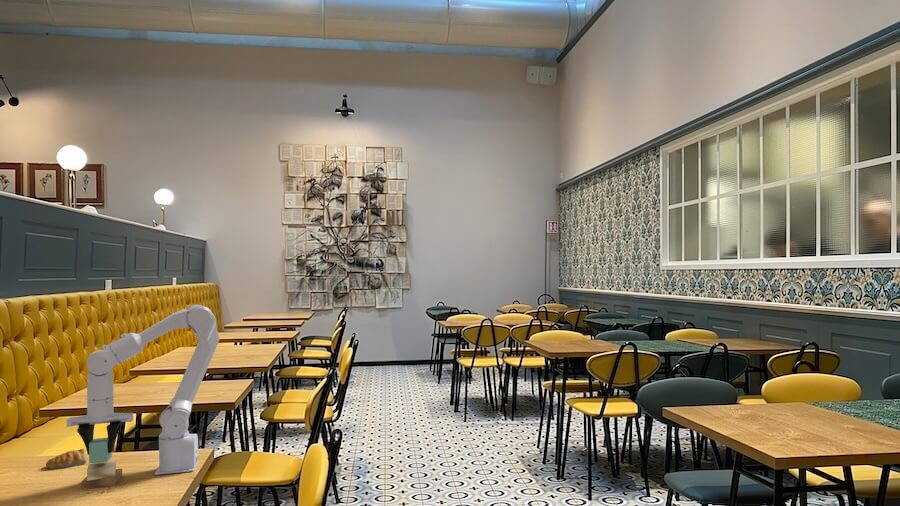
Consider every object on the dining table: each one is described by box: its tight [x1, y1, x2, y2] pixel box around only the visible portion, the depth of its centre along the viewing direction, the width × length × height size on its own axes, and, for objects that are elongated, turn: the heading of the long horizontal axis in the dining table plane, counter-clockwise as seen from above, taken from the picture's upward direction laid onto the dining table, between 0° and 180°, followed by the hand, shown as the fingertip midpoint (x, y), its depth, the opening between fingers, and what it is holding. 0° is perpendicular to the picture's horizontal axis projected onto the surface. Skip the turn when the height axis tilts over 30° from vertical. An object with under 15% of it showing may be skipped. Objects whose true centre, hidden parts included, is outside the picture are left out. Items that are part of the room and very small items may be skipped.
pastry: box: [45, 448, 88, 470], centre depth 160 cm, size 9×7×4 cm
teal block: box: [88, 437, 113, 464], centre depth 146 cm, size 4×4×5 cm
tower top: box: [86, 459, 117, 481], centre depth 145 cm, size 6×6×2 cm
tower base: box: [81, 468, 123, 490], centre depth 146 cm, size 7×7×2 cm
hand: (100, 452), depth 146 cm, fingers closed on teal block, 4 cm apart
